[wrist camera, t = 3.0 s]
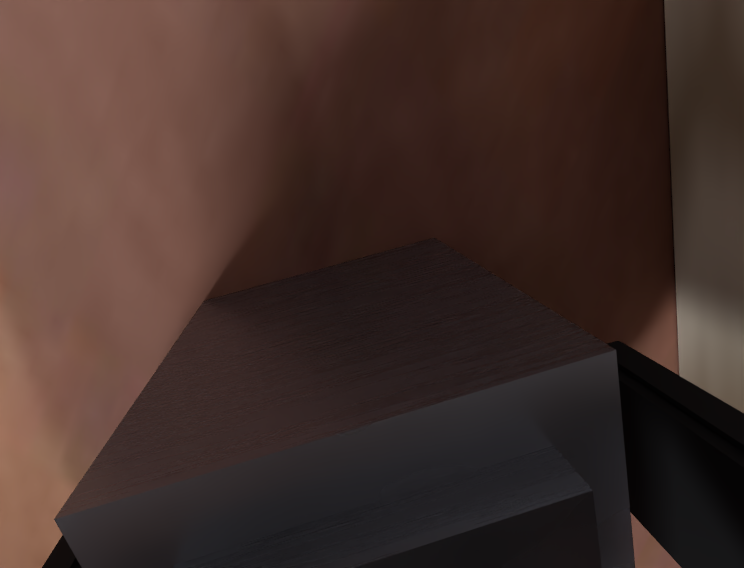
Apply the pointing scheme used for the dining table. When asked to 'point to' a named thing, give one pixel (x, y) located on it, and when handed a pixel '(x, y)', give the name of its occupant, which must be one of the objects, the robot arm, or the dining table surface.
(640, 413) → the robot arm
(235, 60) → the dining table surface
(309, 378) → the housing
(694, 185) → the stand
